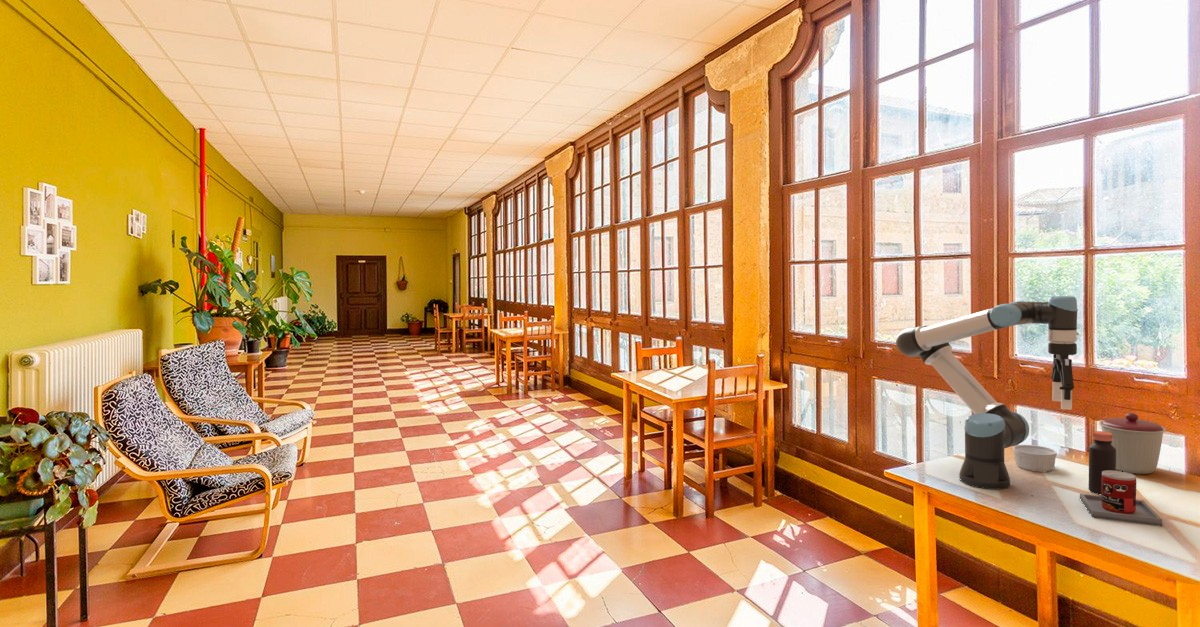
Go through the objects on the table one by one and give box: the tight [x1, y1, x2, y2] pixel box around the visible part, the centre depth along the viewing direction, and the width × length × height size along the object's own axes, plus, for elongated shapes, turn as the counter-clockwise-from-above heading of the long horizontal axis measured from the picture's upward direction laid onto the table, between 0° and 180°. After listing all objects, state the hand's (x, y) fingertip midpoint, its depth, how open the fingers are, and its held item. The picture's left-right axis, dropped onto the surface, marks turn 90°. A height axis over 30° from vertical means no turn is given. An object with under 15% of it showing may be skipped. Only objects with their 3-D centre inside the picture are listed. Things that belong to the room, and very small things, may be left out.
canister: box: [1098, 412, 1167, 475], centre depth 214 cm, size 18×18×21 cm
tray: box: [1079, 493, 1163, 527], centre depth 178 cm, size 16×16×2 cm
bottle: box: [1088, 430, 1117, 495], centre depth 194 cm, size 7×7×20 cm
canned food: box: [1100, 470, 1137, 514], centre depth 178 cm, size 8×8×11 cm
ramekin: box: [1012, 444, 1058, 473], centre depth 220 cm, size 13×13×7 cm
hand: (1061, 405), depth 197 cm, fingers open, 13 cm apart
